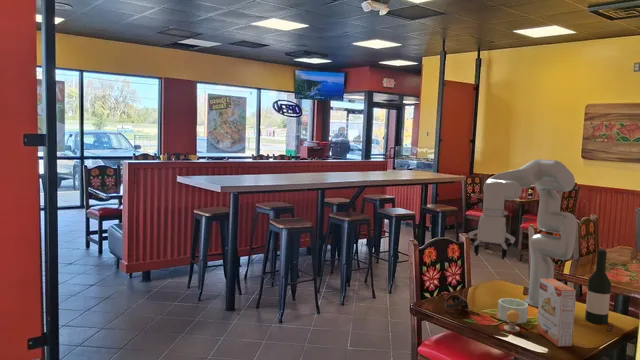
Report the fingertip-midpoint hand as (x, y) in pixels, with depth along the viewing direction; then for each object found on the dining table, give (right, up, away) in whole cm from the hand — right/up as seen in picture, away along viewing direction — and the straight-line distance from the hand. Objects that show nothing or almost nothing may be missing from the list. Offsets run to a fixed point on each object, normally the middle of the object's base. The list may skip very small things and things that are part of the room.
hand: (489, 256), depth 186 cm
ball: (+8, -23, -1) cm, 24 cm away
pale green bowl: (+13, -27, +11) cm, 32 cm away
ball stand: (+8, -28, -1) cm, 29 cm away
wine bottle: (+47, -28, +11) cm, 56 cm away
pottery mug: (-8, -26, +18) cm, 33 cm away
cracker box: (+20, -29, -9) cm, 37 cm away
